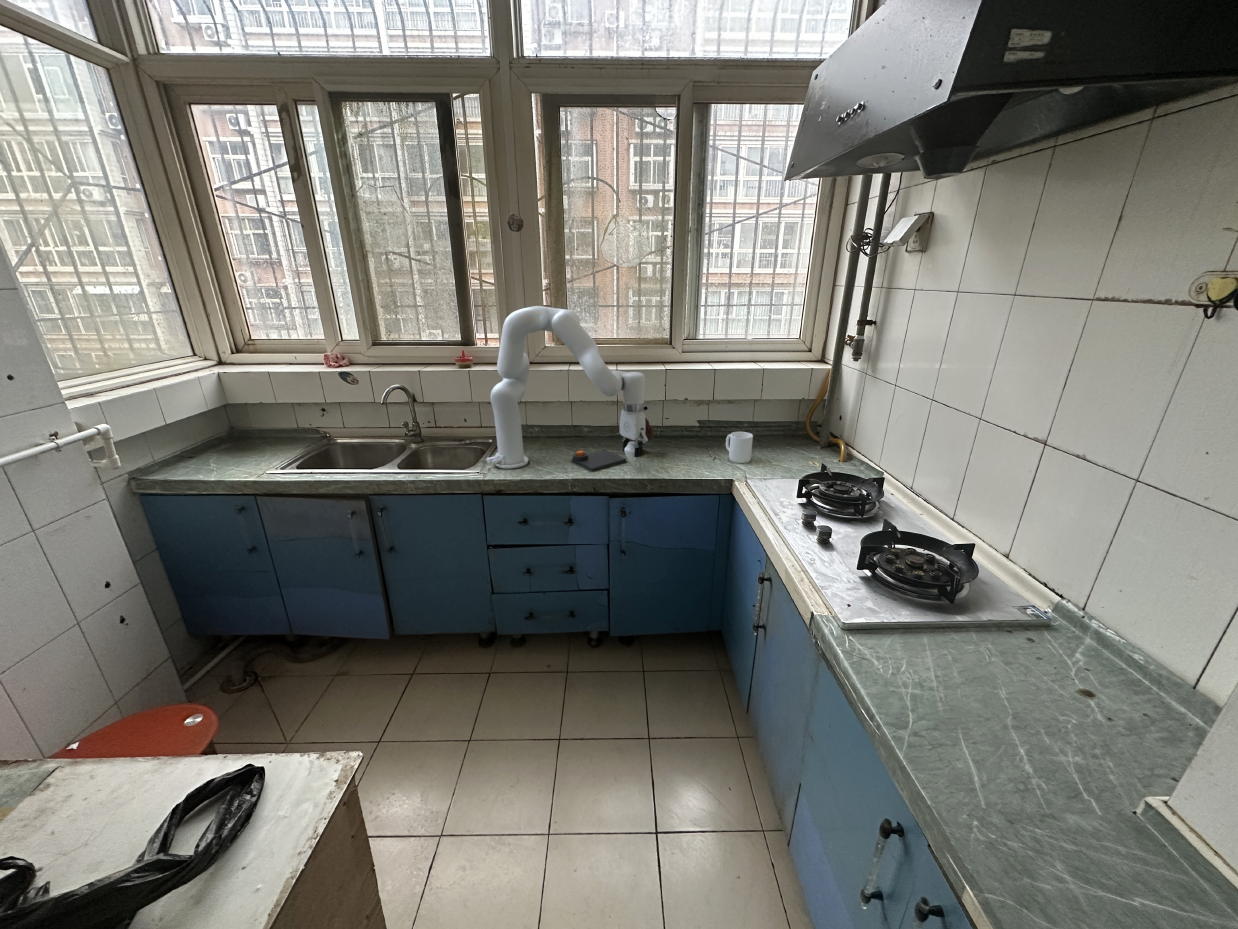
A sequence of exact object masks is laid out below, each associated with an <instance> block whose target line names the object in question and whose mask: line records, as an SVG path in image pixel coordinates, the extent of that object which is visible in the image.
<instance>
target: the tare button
mask: <svg viewBox="0 0 1238 929" xmlns="http://www.w3.org/2000/svg"><path fill="white" fill-rule="evenodd" d="M576 453H577V456H584V450H577V451H576Z"/></svg>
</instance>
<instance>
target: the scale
mask: <svg viewBox="0 0 1238 929" xmlns="http://www.w3.org/2000/svg"><path fill="white" fill-rule="evenodd" d="M571 462H572V463H574V464H576V465H578V466H580V467H582V468H584V469H586V470H588V471H590V472H596V471H600V470H604V469H606V468H610V467H613V466H617V465H620V464H624V463H627V458H625V457H623V456H621V455H618V454H616V453H615V452H611V451H609V450H607V449H600V450H596V451H593V452H590V453H588V452H584V456H577V452H573V454H572V457H571Z"/></svg>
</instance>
